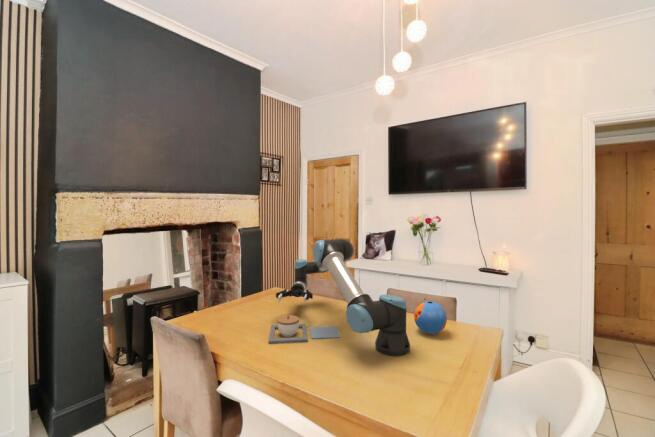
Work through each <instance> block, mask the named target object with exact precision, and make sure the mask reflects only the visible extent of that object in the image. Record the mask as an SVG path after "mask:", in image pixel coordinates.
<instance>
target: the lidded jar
mask: <svg viewBox="0 0 655 437" xmlns="http://www.w3.org/2000/svg"><path fill="white" fill-rule="evenodd" d="M276 320H277V325H278V329H277V330H278V331H279V333H280V335H281V336H283V337H284V338H292V337H293V336H294V337H295V334H296V333H297V332H298V330H299V329H300V328H299V324H300V318H299V316H297V315H291V314H290V315H289V314H288V315H281V316H279V317H278V318H277V319H276Z"/></svg>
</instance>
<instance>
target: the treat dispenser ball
mask: <svg viewBox="0 0 655 437" xmlns="http://www.w3.org/2000/svg"><path fill="white" fill-rule="evenodd" d="M413 315H414V316H413V318H414V323H415V325H416V326H417V328H418V329H419V330H420V331H422V332H423V333H425V334H427V335H436V334H439V333H441V332H442V331H443V330H444V329H445V328H446V325H447V322H448V321H447V320H448V319H447V312H446V310H445V309H444V307H443V306H442V305H441V304H439V303H437V302H435V301H424V302H422V303H420V304H419V305H417V306H416V308H415V310H414V314H413Z"/></svg>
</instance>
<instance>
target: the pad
mask: <svg viewBox="0 0 655 437" xmlns="http://www.w3.org/2000/svg"><path fill="white" fill-rule="evenodd" d="M309 330H310V336H311V337H310V338H311V340H321V339H324V340H325V339H341V338H342V336H341V333H340V331H339V328H338V325H325V326H310V327H309Z"/></svg>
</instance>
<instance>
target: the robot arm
mask: <svg viewBox="0 0 655 437" xmlns="http://www.w3.org/2000/svg"><path fill="white" fill-rule="evenodd" d="M354 254H355V248H354V245H353V243H351V242H350V240H347V239H343V238H339V239H338V238H336V239H321V240H317V241H316V242H314V244H313V248H312V258H313V261H307V259H303V258H302V259H300V258H299V259H296V260H295V261H294V283H293V284H292V286H291V289H289V290H288V289H287V288H285V289H284V290H283V289H282V290H280V291H278V292H275V298H277V303H280V302H282V300H283V298H287V297H290V298H291V297H295V298H300V297H302V298H303V304H306V302H307V301H308V300H310V299H311V300H313V298H314V295H313V293H312V292H311V291H310V290H309V289H306V288H308V278H307V277H308V275H314V274H325V273H328V272H329V273H330V275H331V277H332V279H333V280H334V283H335V284H336V287H337V288H338V289H339V291H340V293H341V295H342V296H343V298H344V300H345V302H346V303H347V304H346V310H345V317H346V322H347V324H348V326H349V328H351V330H352V331H354V332H355V333H358V334H363V333H364V334H367V333H370V332H373V331H378V334H377V336H376V339H375V343H374V348H375V350H376V351H377V352H378V353H380V354H382V355H386V356H390V357H400V356H401V357H402V356H406V355H407V354H409V353H410V352H411V344H410V340H409V336H408V334H407V308H408V307H407V301H406V300H405V299H404V298H403V297H400V296H398V295H392V294H380V295H379V298H378V299H379V300H373V299H372V297H371V296H370V295H369V294H368V293H365V292H364V291H363V290H362V288H361V286H360V285H359V284H358V281H357V280H356V279H355V277H354V275H353V274H352V272H351V270H350V269H349V267H348V265H346V264H347V263H345V262H347V261H350V260H351V259H352V258H353V256H354Z"/></svg>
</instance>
